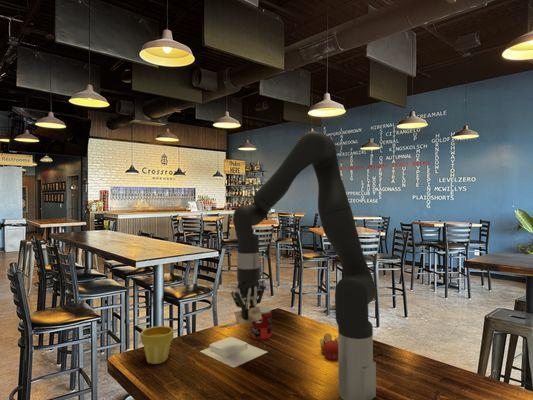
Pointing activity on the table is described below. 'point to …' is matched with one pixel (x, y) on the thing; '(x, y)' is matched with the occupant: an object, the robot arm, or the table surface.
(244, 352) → the mat
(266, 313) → the canned food
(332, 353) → the kendama
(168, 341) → the plant pot
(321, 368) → the table surface
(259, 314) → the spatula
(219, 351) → the tile
